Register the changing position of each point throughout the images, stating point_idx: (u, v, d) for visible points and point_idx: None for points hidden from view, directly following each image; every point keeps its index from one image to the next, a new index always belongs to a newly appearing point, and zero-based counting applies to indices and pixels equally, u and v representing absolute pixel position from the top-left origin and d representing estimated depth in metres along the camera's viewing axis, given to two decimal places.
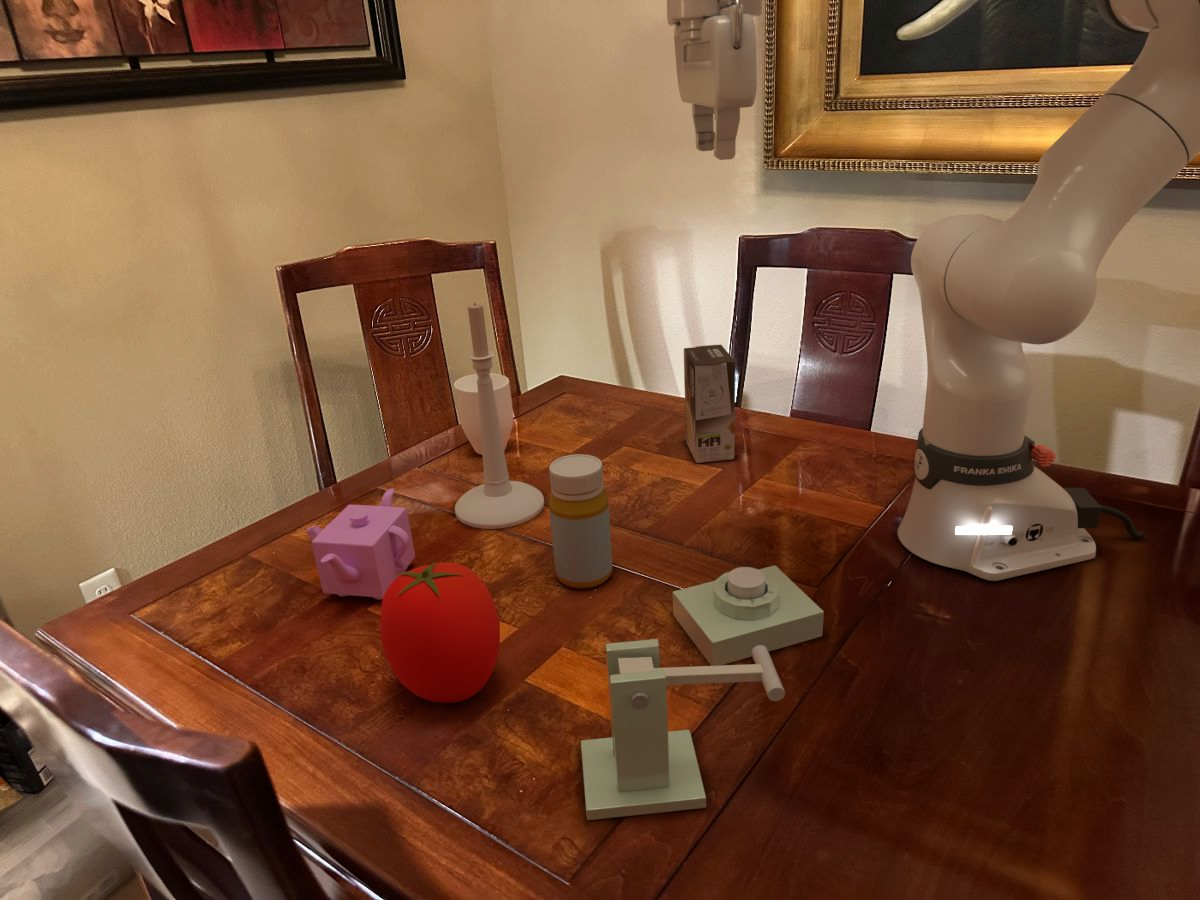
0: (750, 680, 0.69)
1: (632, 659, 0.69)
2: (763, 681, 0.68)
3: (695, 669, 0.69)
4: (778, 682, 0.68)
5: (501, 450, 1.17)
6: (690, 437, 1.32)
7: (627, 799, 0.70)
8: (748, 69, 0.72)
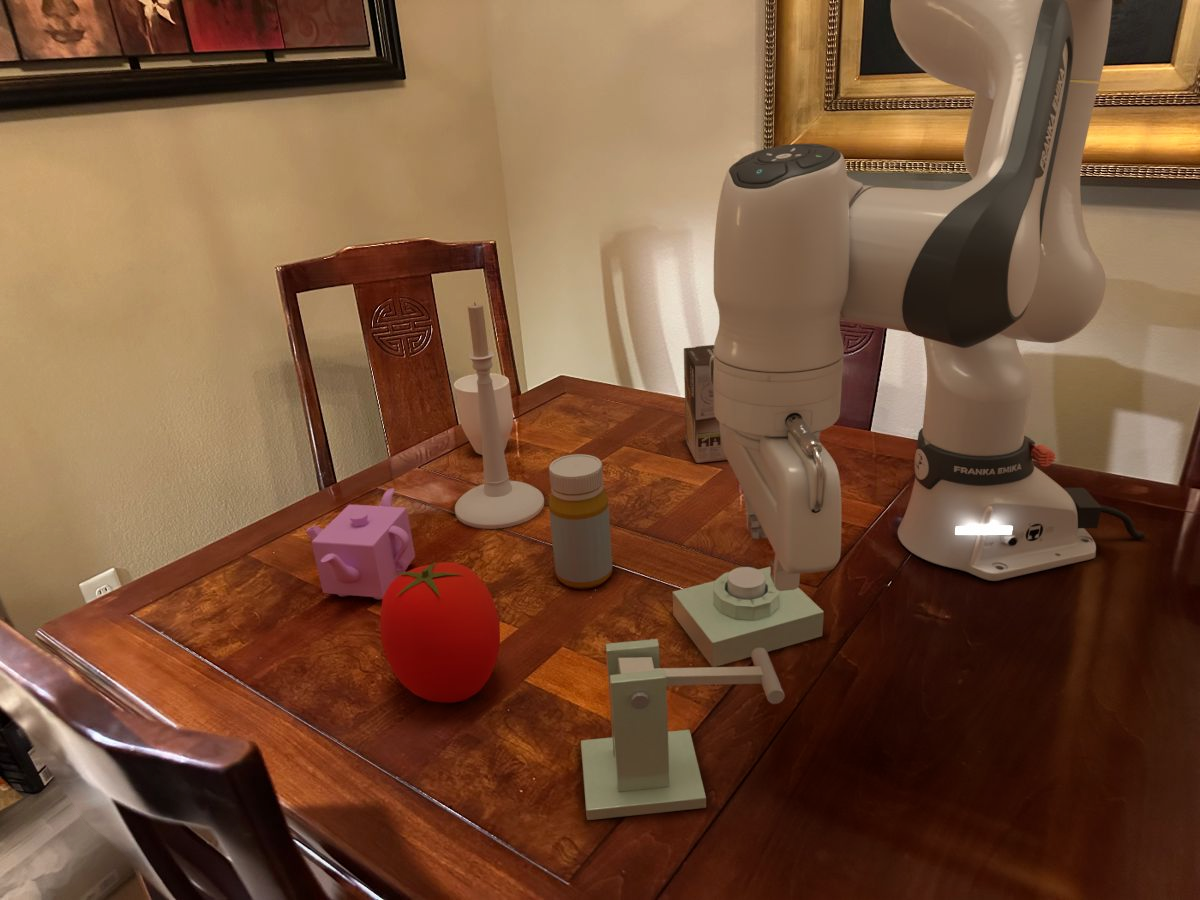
0: (750, 682, 0.69)
1: (632, 659, 0.69)
2: (763, 683, 0.69)
3: (695, 670, 0.69)
4: (778, 685, 0.68)
5: (501, 450, 1.17)
6: (690, 437, 1.32)
7: (627, 799, 0.70)
8: (830, 536, 0.53)
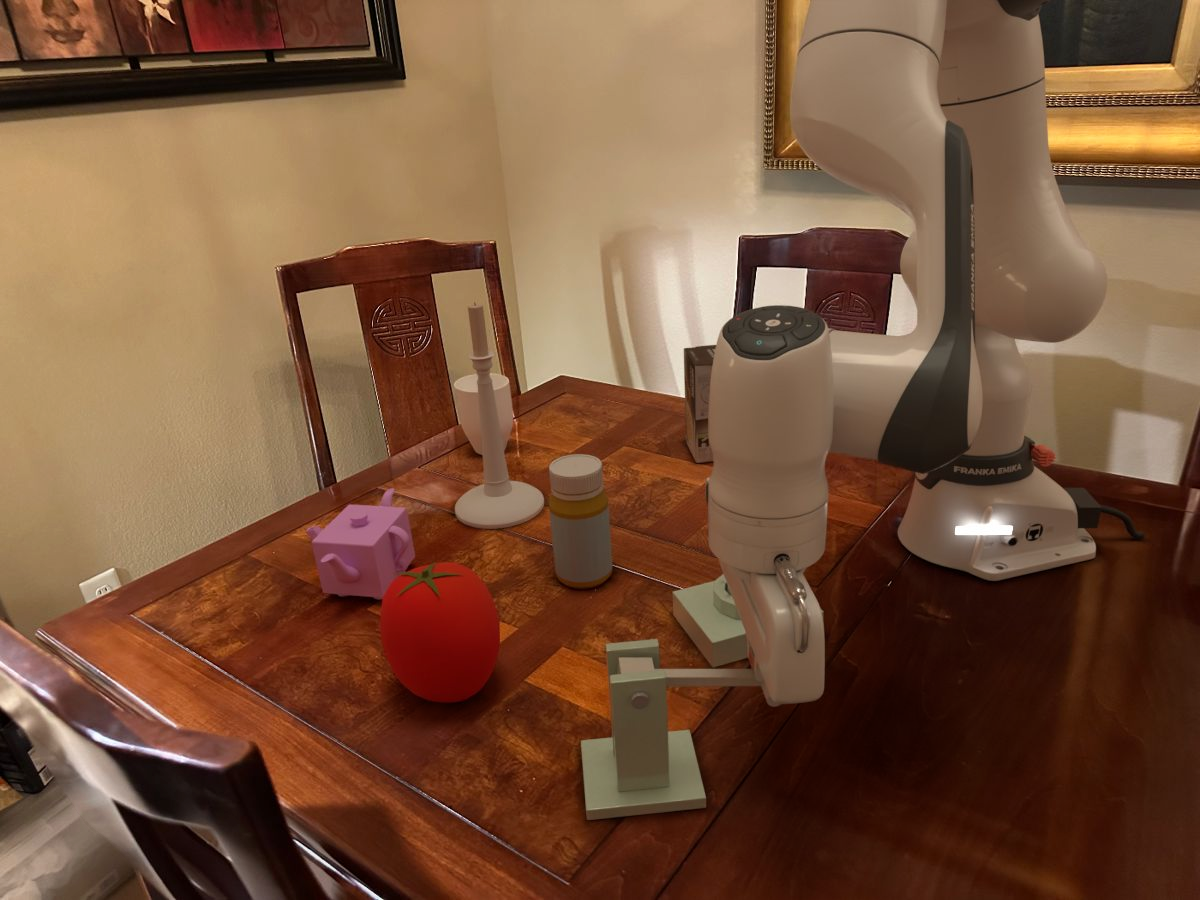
0: (749, 684, 0.69)
1: (633, 659, 0.69)
2: (762, 686, 0.69)
3: (695, 672, 0.69)
4: None
5: (501, 450, 1.17)
6: (690, 437, 1.32)
7: (627, 799, 0.70)
8: (814, 673, 0.57)
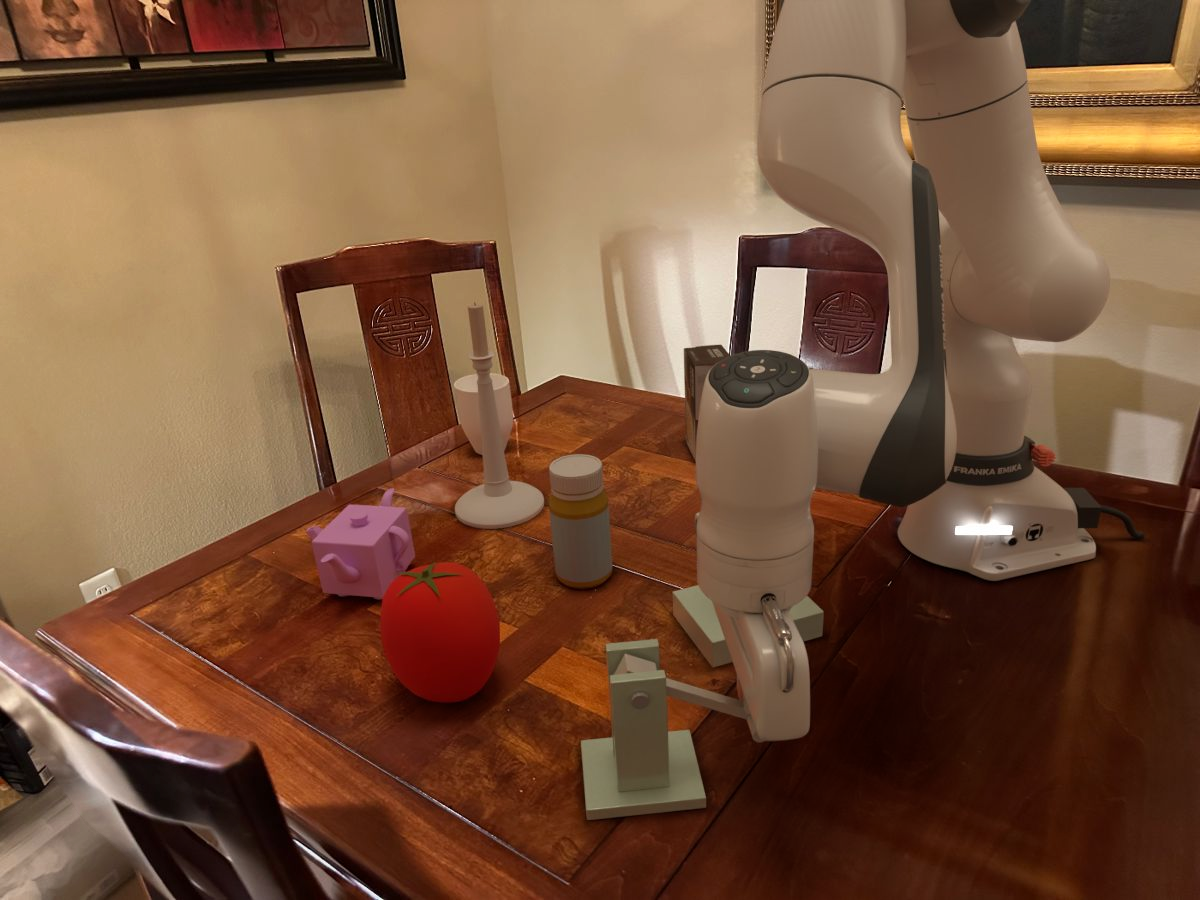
0: (736, 715, 0.71)
1: (638, 659, 0.69)
2: (750, 720, 0.70)
3: (692, 688, 0.70)
4: None
5: (501, 450, 1.17)
6: (690, 437, 1.32)
7: (627, 799, 0.70)
8: (799, 712, 0.59)
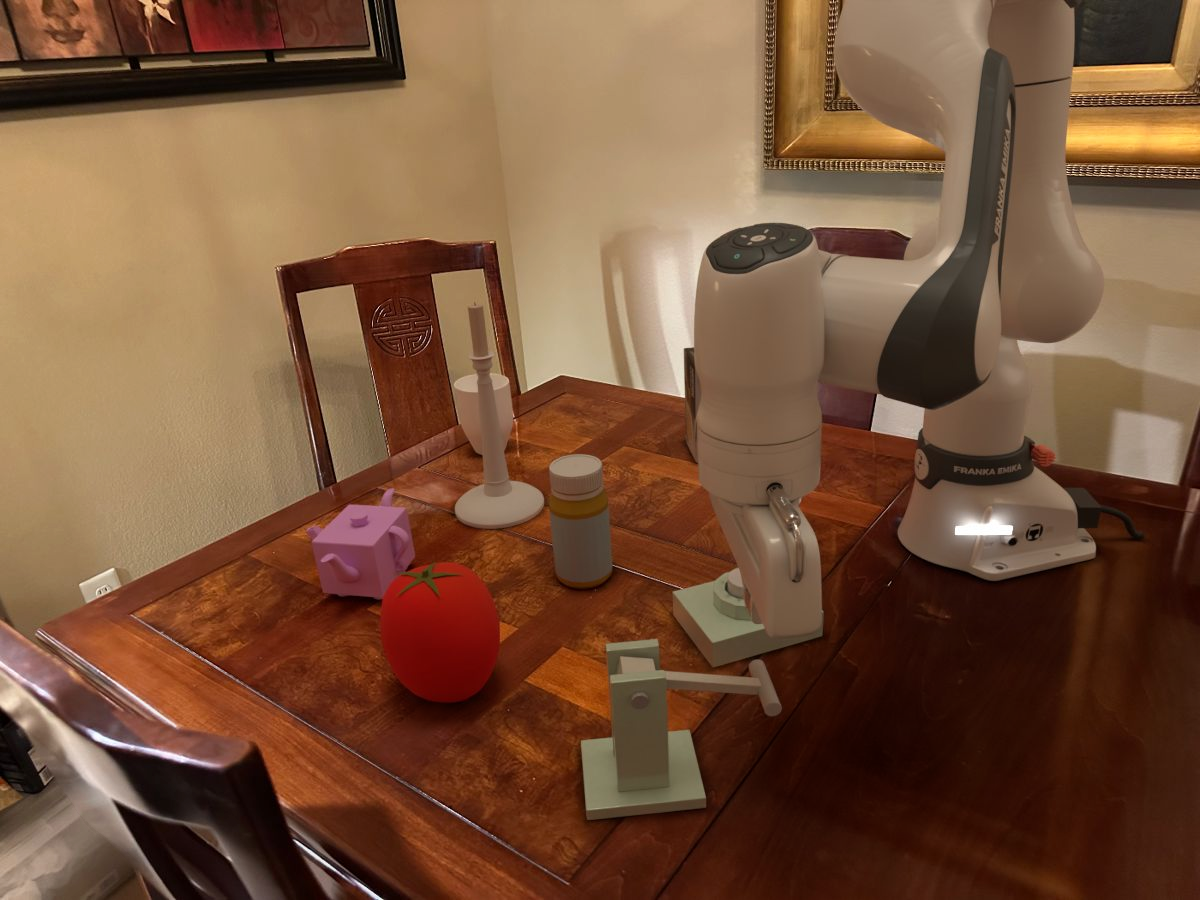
0: (747, 693, 0.70)
1: (634, 659, 0.69)
2: (760, 695, 0.69)
3: (695, 676, 0.69)
4: (776, 698, 0.68)
5: (501, 450, 1.17)
6: (690, 437, 1.32)
7: (627, 799, 0.70)
8: (811, 603, 0.55)
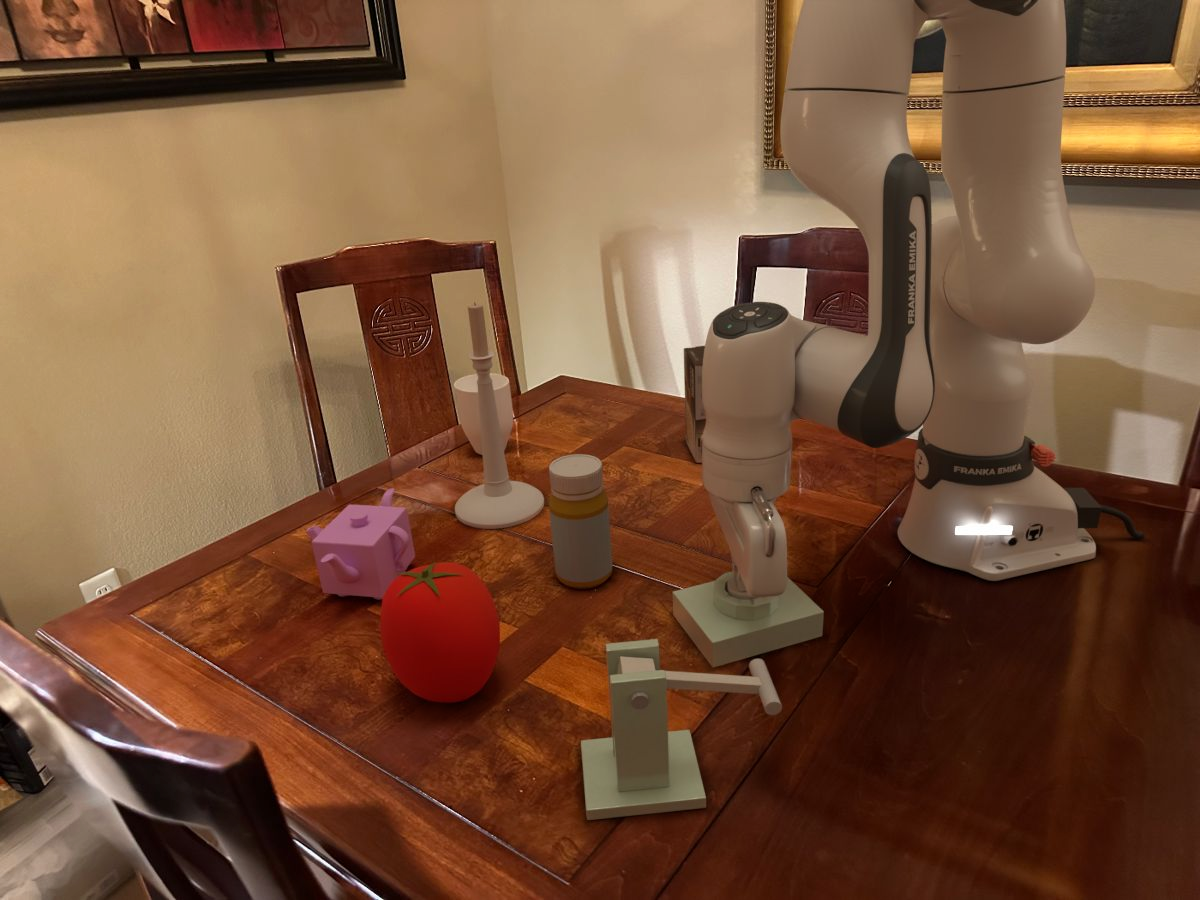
0: (747, 692, 0.70)
1: (634, 659, 0.69)
2: (761, 694, 0.69)
3: (695, 676, 0.69)
4: (776, 697, 0.68)
5: (501, 450, 1.17)
6: (690, 437, 1.32)
7: (627, 799, 0.70)
8: (779, 572, 0.78)
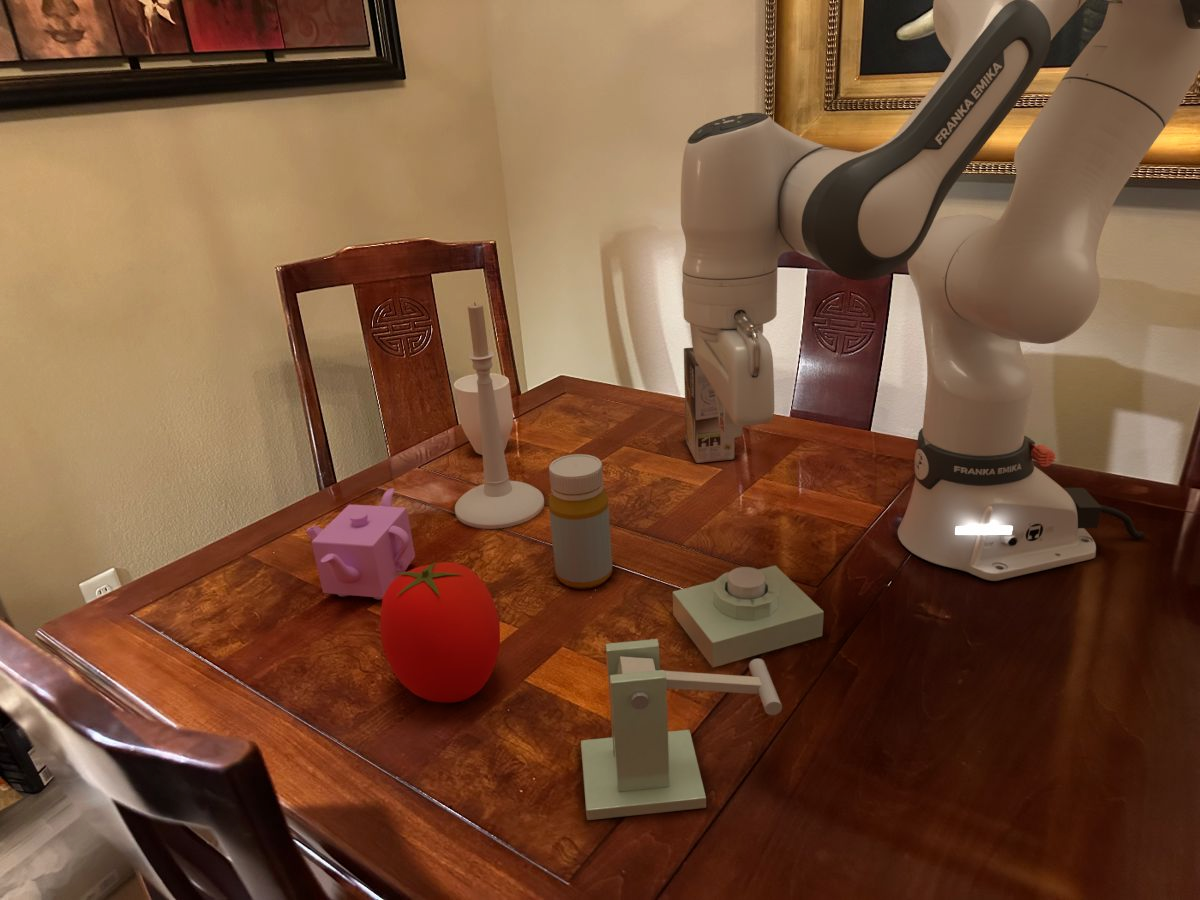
0: (747, 692, 0.70)
1: (634, 659, 0.69)
2: (761, 694, 0.69)
3: (695, 676, 0.69)
4: (776, 697, 0.68)
5: (501, 450, 1.17)
6: (690, 437, 1.32)
7: (627, 799, 0.70)
8: (765, 395, 0.74)
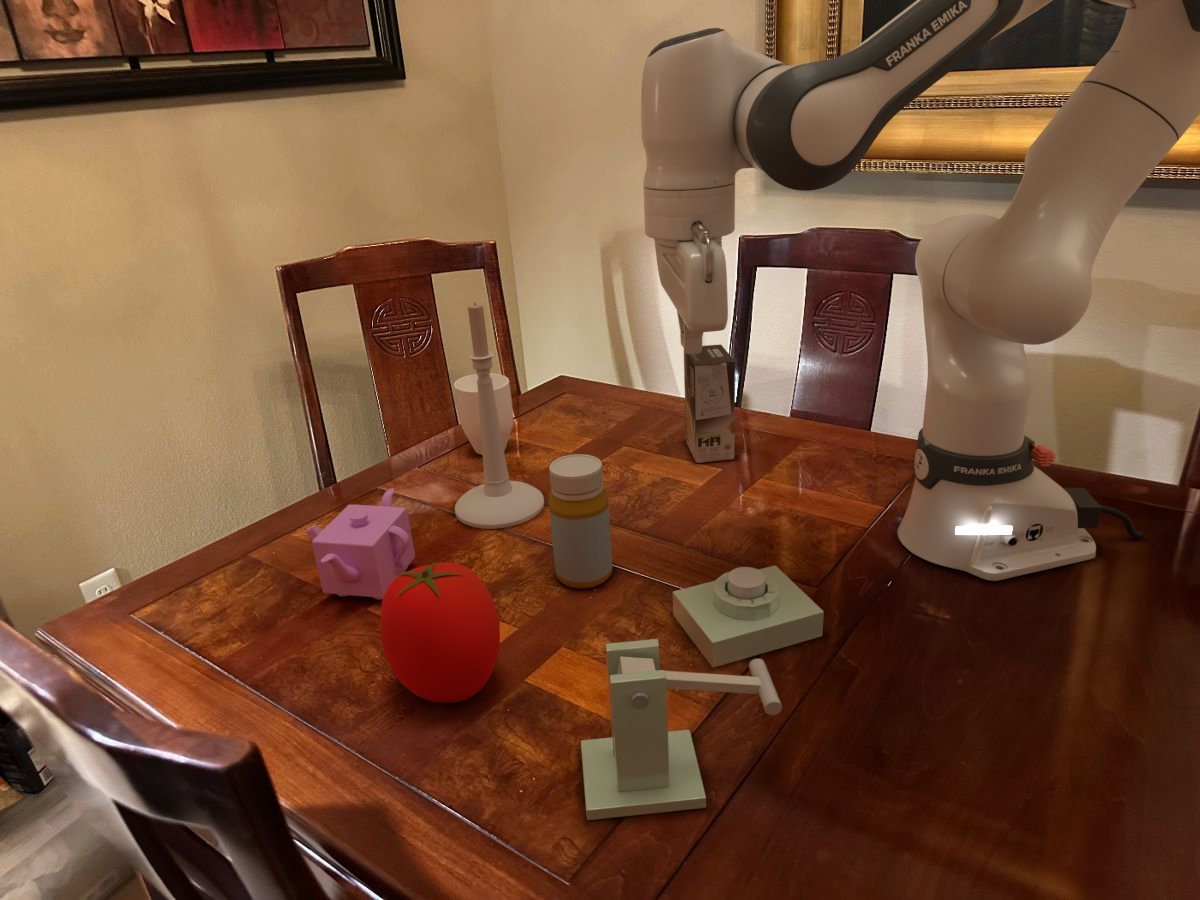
0: (747, 692, 0.70)
1: (634, 659, 0.69)
2: (761, 694, 0.69)
3: (695, 676, 0.69)
4: (776, 697, 0.68)
5: (501, 450, 1.17)
6: (690, 437, 1.32)
7: (627, 799, 0.70)
8: (719, 300, 0.76)
